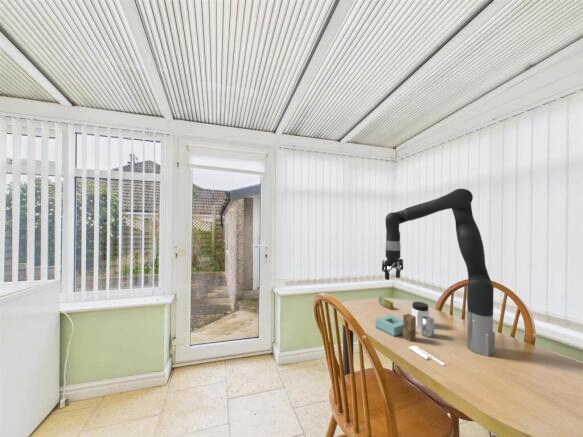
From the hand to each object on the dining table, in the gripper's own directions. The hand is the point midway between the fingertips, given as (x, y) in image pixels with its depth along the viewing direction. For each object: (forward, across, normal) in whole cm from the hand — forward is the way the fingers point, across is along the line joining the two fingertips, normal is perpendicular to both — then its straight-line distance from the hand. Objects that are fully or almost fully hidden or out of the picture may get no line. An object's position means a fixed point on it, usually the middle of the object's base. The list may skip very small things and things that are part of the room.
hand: (392, 278), depth 129 cm
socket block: (+28, 0, 0) cm, 28 cm away
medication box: (+28, +27, +27) cm, 47 cm away
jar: (+28, +20, -3) cm, 35 cm away
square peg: (+28, -1, -11) cm, 30 cm away
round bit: (+28, +11, -13) cm, 33 cm away
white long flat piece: (+28, -10, -25) cm, 39 cm away
